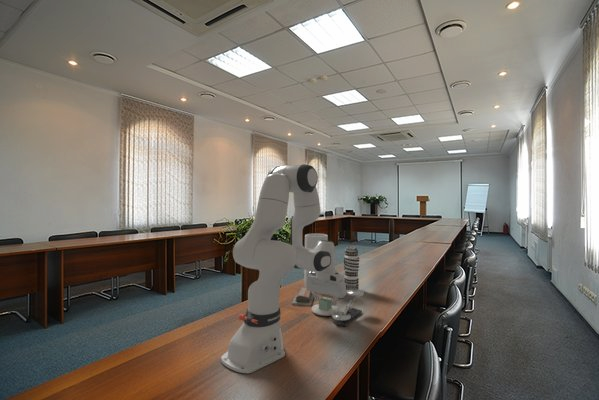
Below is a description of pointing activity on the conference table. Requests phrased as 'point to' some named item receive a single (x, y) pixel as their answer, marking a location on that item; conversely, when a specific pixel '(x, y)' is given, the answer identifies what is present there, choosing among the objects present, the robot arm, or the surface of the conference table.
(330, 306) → the block
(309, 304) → the packaged product
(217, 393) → the conference table surface
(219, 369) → the conference table surface
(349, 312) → the balance
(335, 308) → the dish
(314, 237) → the vase
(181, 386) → the conference table surface
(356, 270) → the decorative candle
